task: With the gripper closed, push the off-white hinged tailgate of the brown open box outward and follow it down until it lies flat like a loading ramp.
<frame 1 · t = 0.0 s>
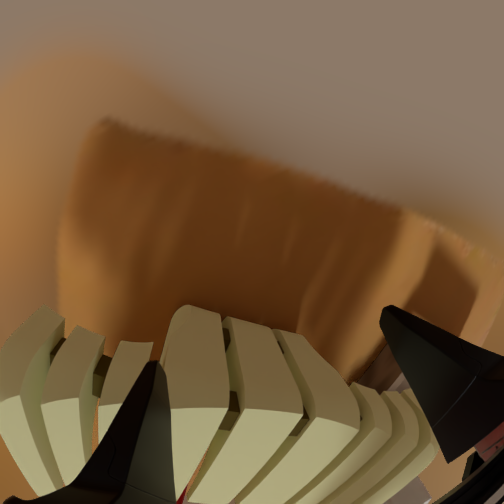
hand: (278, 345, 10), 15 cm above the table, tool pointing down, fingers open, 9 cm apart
milk carton: (375, 454, 40), on the table
brown open box: (398, 383, 34), on the table
slatted curved stool: (220, 368, 28), on the table
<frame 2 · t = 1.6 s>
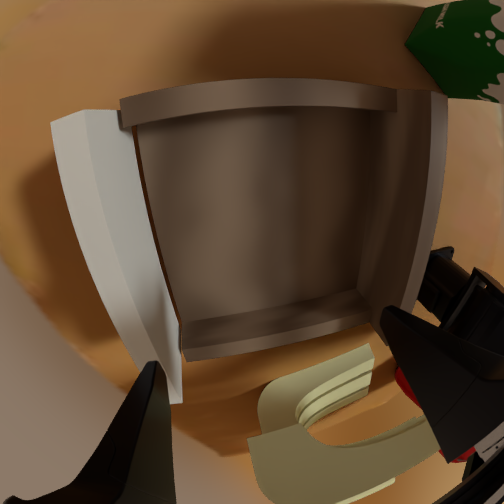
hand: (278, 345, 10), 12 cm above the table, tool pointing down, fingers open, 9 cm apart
milk carton: (436, 50, 15), on the table
brown open box: (265, 210, 20), on the table
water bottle: (411, 356, 37), on the table
tailgate: (133, 269, 14), point 6 cm above the table, hinge at 0.0°
slatted curved stool: (314, 389, 34), on the table
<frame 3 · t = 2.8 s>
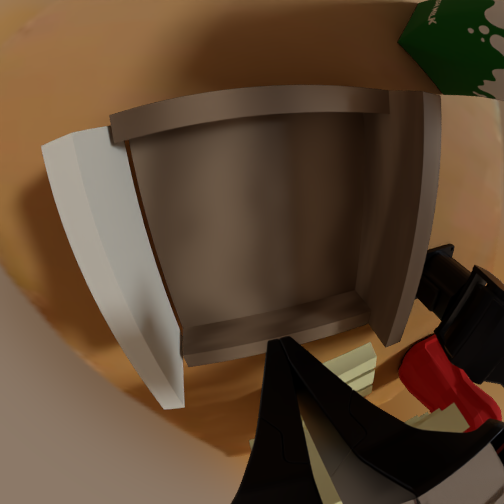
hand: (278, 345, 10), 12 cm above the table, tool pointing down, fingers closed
milk carton: (430, 46, 15), on the table
brown open box: (261, 216, 20), on the table
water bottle: (414, 353, 37), on the table
tailgate: (132, 280, 14), point 6 cm above the table, hinge at 0.0°
slatted curved stool: (318, 388, 34), on the table
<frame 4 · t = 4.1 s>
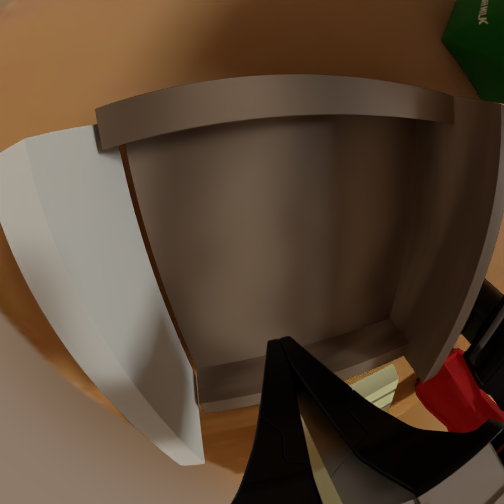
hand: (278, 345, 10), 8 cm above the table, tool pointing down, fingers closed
milk carton: (470, 47, 11), on the table
brown open box: (292, 240, 16), on the table
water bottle: (432, 369, 33), on the table
tailgate: (135, 333, 11), point 5 cm above the table, hinge at 0.0°
slatted curved stool: (335, 410, 31), on the table
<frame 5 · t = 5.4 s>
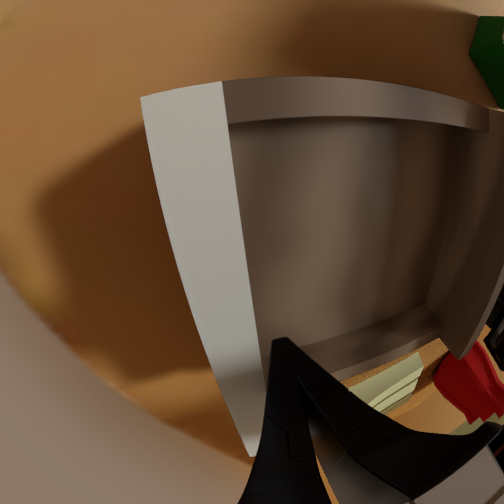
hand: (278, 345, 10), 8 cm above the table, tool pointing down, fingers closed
milk carton: (490, 60, 12), on the table
brown open box: (351, 229, 17), on the table
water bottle: (448, 359, 34), on the table
tailgate: (228, 317, 11), point 5 cm above the table, hinge at 0.1°, touching gripper
slatted curved stool: (362, 400, 31), on the table
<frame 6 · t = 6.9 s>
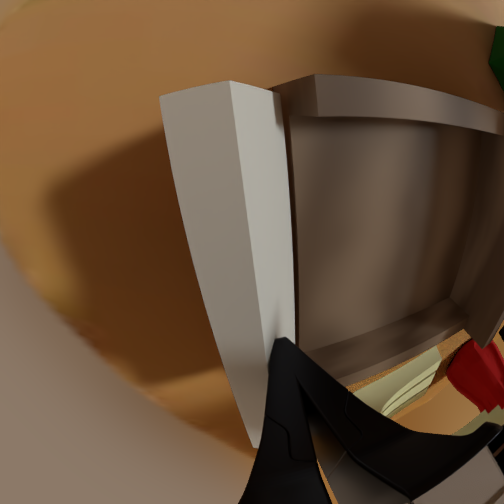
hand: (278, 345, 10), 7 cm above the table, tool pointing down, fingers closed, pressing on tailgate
brown open box: (391, 225, 17), on the table
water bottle: (460, 353, 34), on the table
tailgate: (266, 309, 11), point 5 cm above the table, hinge at 24.7°, touching gripper
slatted curved stool: (382, 395, 31), on the table
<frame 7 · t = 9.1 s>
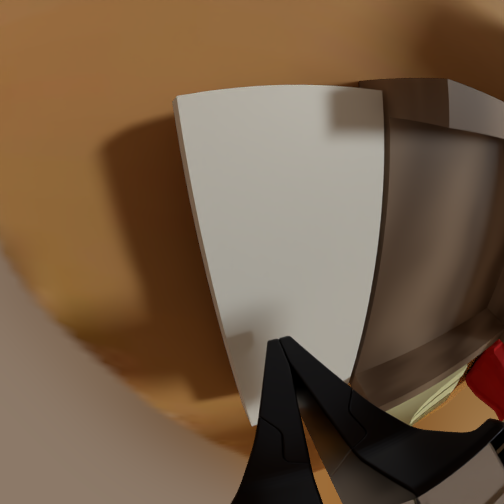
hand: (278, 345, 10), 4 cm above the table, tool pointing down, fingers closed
brown open box: (449, 238, 14), on the table
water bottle: (479, 359, 31), on the table
tailgate: (299, 302, 12), point 2 cm above the table, hinge at 80.5°
slatted curved stool: (408, 403, 29), on the table
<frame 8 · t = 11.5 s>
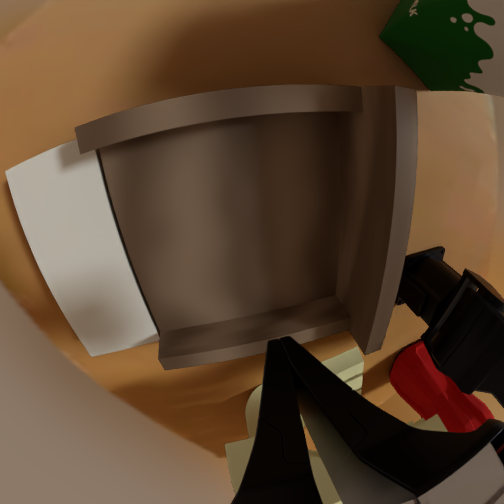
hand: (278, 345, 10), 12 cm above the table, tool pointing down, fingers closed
milk carton: (416, 41, 15), on the table
brown open box: (234, 220, 20), on the table
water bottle: (406, 357, 37), on the table
tailgate: (83, 262, 17), point 2 cm above the table, hinge at 80.7°
slatted curved stool: (305, 392, 34), on the table
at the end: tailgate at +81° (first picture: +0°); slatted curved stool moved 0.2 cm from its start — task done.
